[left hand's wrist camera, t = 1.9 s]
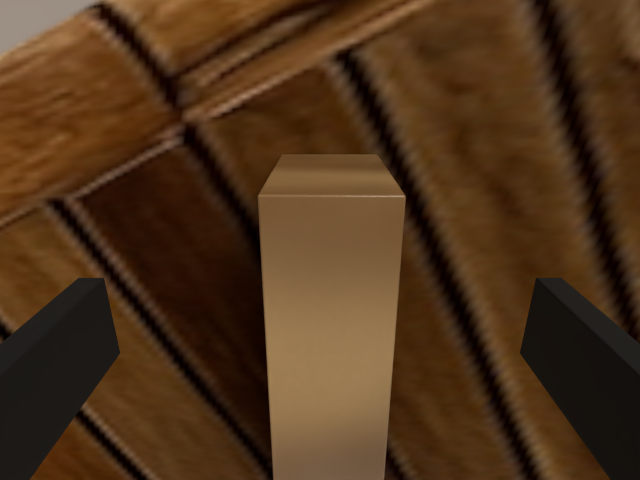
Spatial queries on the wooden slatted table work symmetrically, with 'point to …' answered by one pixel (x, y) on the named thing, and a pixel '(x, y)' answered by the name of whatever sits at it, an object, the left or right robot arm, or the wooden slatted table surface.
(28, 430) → the left robot arm
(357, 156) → the bar
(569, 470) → the wooden slatted table surface
